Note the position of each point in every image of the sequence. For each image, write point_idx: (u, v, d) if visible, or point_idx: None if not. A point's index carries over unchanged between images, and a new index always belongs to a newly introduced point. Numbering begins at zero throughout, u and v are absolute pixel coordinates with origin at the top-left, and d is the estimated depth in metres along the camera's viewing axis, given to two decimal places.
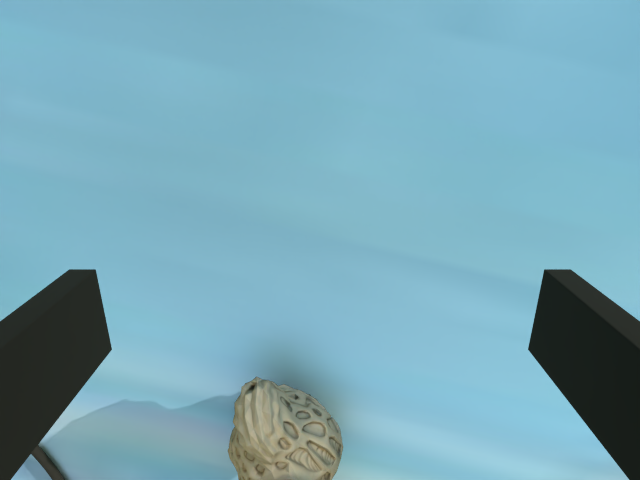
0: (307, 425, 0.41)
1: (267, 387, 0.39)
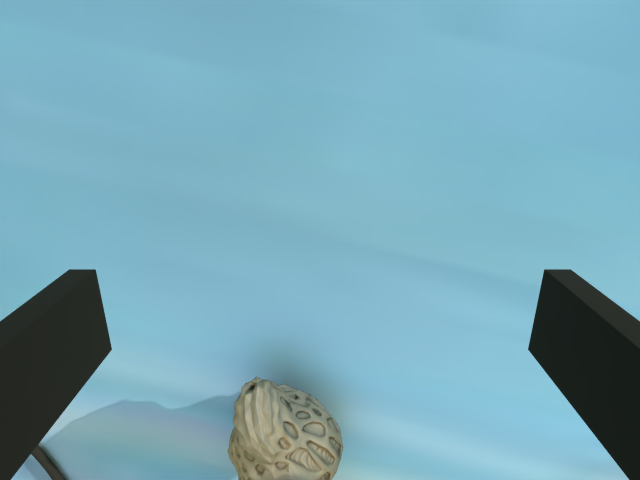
0: (307, 425, 0.41)
1: (267, 387, 0.39)
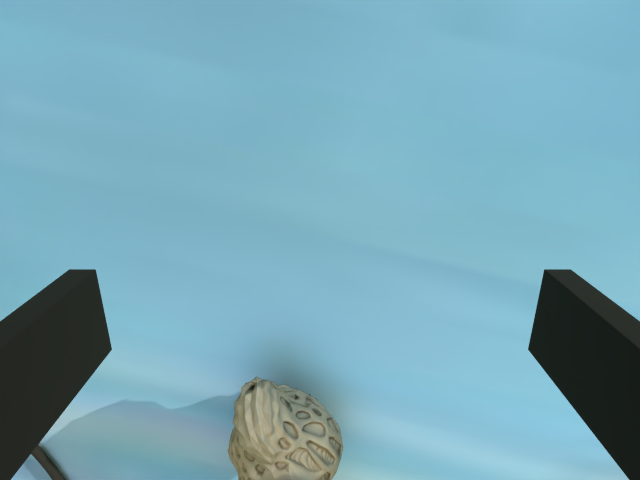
0: (307, 425, 0.41)
1: (267, 387, 0.39)
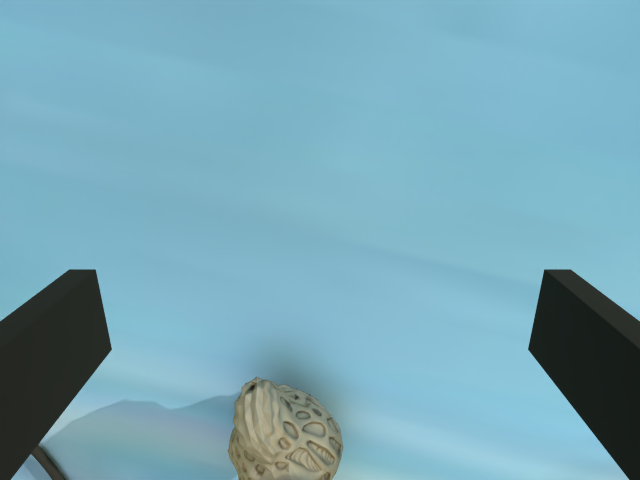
0: (307, 425, 0.41)
1: (268, 387, 0.39)
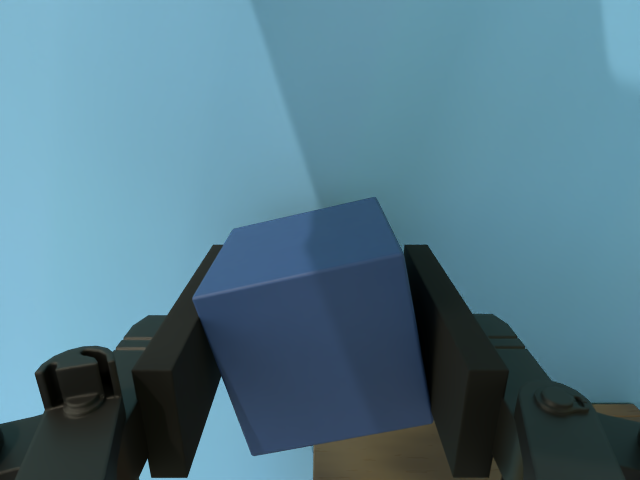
0: None
1: None
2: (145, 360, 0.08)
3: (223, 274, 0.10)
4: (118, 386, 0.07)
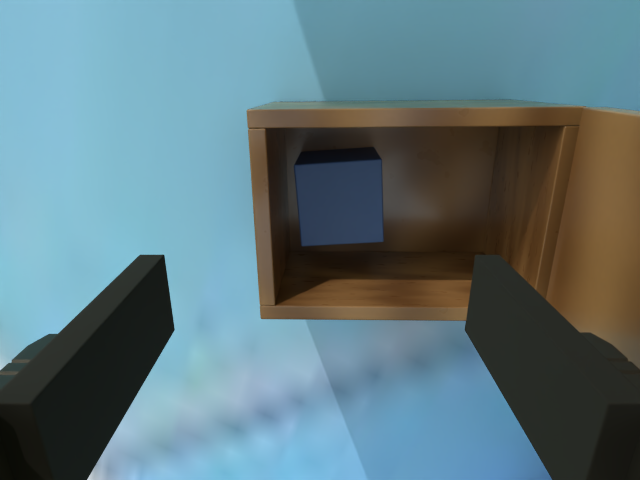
0: None
1: None
2: (7, 391, 0.07)
3: (305, 161, 0.24)
4: None
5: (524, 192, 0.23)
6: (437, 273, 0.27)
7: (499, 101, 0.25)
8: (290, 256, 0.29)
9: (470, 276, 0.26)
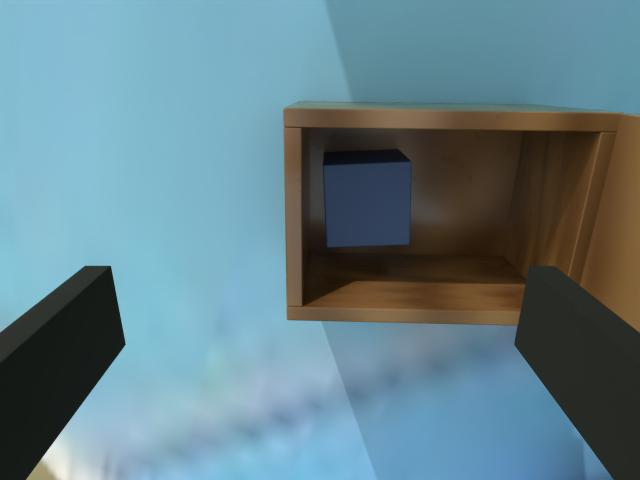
0: None
1: None
2: None
3: (333, 161, 0.24)
4: None
5: (552, 197, 0.23)
6: (460, 277, 0.27)
7: (527, 106, 0.25)
8: (311, 257, 0.29)
9: (494, 280, 0.26)
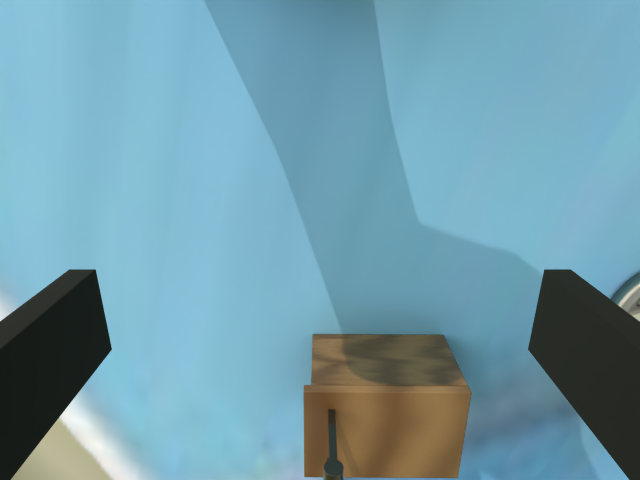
0: None
1: None
2: None
3: None
4: None
5: None
6: None
7: (434, 348, 0.47)
8: None
9: None
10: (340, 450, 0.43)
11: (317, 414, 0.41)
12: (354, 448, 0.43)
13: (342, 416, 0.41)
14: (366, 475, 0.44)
